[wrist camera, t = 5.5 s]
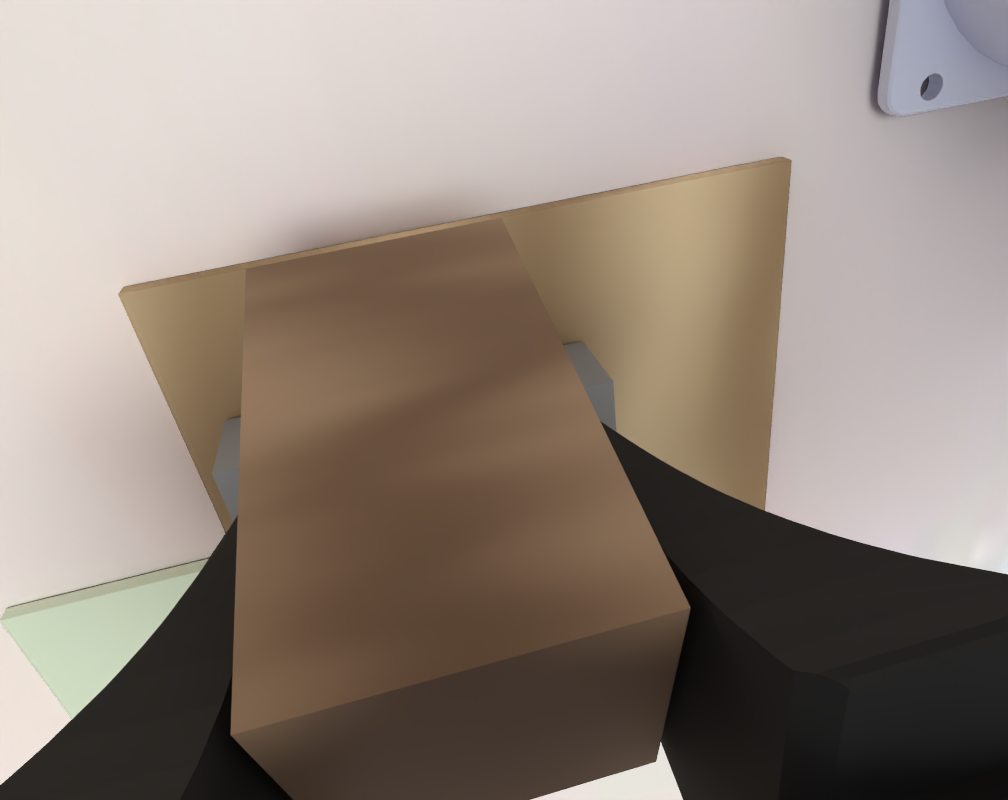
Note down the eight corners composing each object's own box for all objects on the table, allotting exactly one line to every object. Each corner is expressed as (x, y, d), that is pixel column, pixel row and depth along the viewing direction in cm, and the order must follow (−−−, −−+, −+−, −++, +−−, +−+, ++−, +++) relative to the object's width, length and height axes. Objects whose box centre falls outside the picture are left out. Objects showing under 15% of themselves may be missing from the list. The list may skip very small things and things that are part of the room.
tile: (613, 381, 14) (625, 590, 17) (580, 338, 16) (597, 534, 19) (212, 474, 13) (300, 678, 16) (225, 416, 15) (303, 610, 18)
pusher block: (501, 217, 11) (690, 607, 6) (517, 396, 14) (655, 760, 9) (245, 268, 11) (230, 734, 6) (316, 443, 13) (347, 855, 8)
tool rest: (219, 555, 17) (217, 566, 17) (280, 685, 20) (279, 697, 19) (6, 608, 17) (-1, 621, 16) (97, 734, 19) (92, 748, 19)
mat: (781, 156, 15) (791, 160, 15) (750, 602, 23) (756, 611, 22) (123, 287, 14) (118, 294, 13) (317, 723, 21) (316, 735, 20)
